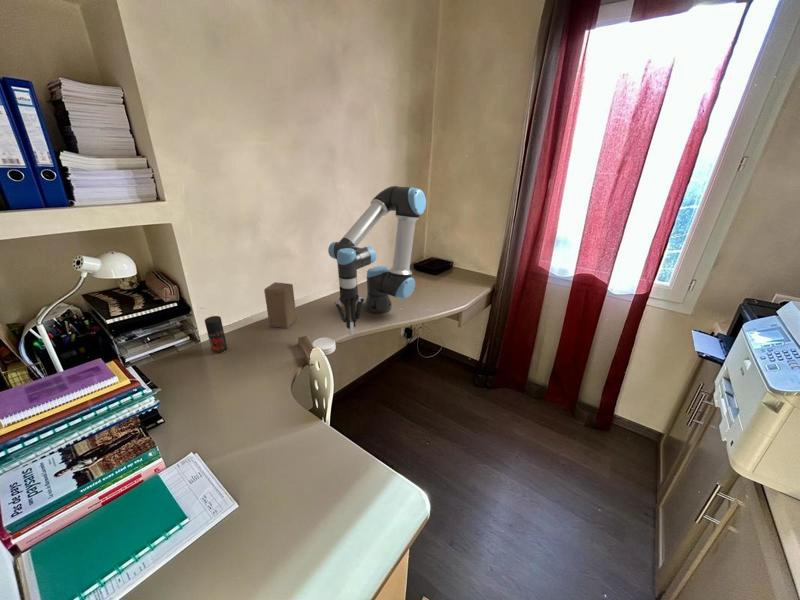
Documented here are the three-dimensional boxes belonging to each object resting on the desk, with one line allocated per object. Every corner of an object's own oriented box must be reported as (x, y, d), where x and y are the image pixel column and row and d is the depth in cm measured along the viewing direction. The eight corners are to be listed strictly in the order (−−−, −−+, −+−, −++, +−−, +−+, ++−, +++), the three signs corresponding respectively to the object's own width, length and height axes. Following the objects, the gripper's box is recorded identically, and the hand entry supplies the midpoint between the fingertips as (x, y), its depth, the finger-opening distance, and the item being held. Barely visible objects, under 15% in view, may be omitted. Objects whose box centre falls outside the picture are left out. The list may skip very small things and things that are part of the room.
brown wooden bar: (307, 342, 152) (306, 335, 150) (318, 363, 138) (318, 355, 136) (298, 344, 150) (297, 337, 149) (308, 365, 136) (308, 358, 134)
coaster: (307, 352, 145) (306, 345, 143) (321, 341, 153) (320, 335, 152) (327, 358, 141) (326, 351, 140) (340, 346, 150) (339, 340, 148)
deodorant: (208, 352, 143) (201, 321, 137) (220, 345, 148) (213, 314, 142) (219, 355, 141) (212, 323, 135) (230, 348, 146) (224, 317, 140)
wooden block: (287, 329, 162) (282, 291, 154) (268, 326, 164) (263, 288, 156) (297, 319, 171) (293, 283, 163) (279, 317, 173) (274, 281, 165)
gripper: (359, 279, 147) (361, 326, 157) (330, 285, 141) (334, 333, 151) (366, 285, 141) (368, 334, 151) (336, 291, 135) (340, 341, 145)
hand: (351, 333), depth 151 cm, fingers closed
